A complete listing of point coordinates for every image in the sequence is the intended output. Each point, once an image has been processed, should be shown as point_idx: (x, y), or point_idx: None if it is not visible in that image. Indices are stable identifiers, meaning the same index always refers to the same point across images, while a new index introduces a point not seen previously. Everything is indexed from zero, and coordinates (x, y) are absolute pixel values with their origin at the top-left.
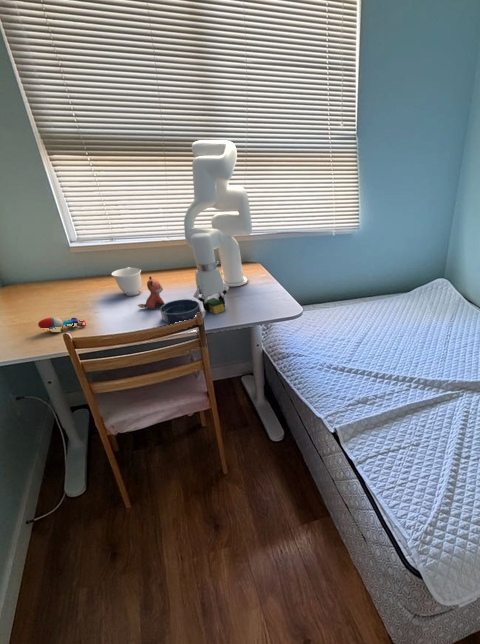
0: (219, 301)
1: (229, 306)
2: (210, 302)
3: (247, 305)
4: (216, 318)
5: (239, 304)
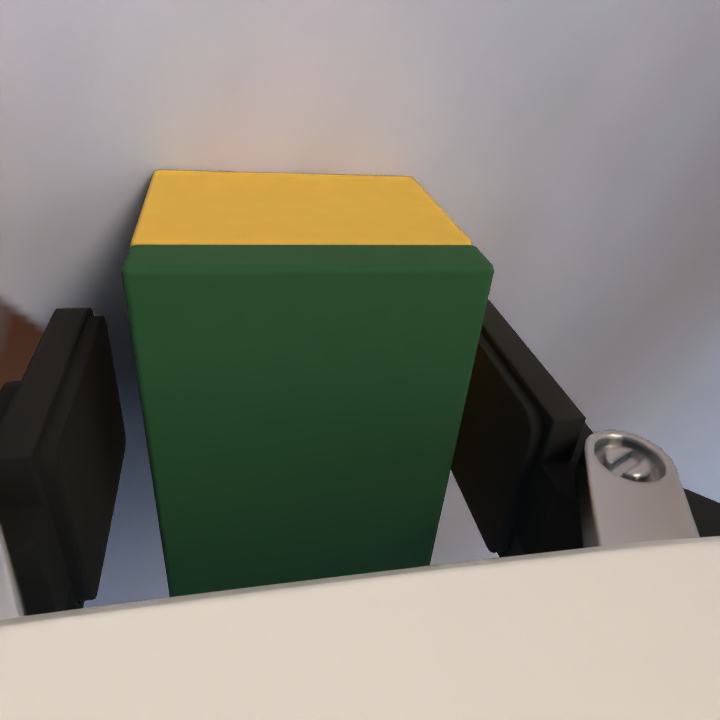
0: (394, 562)
1: (555, 363)
2: (199, 509)
3: (701, 484)
4: (128, 598)
5: (692, 395)
